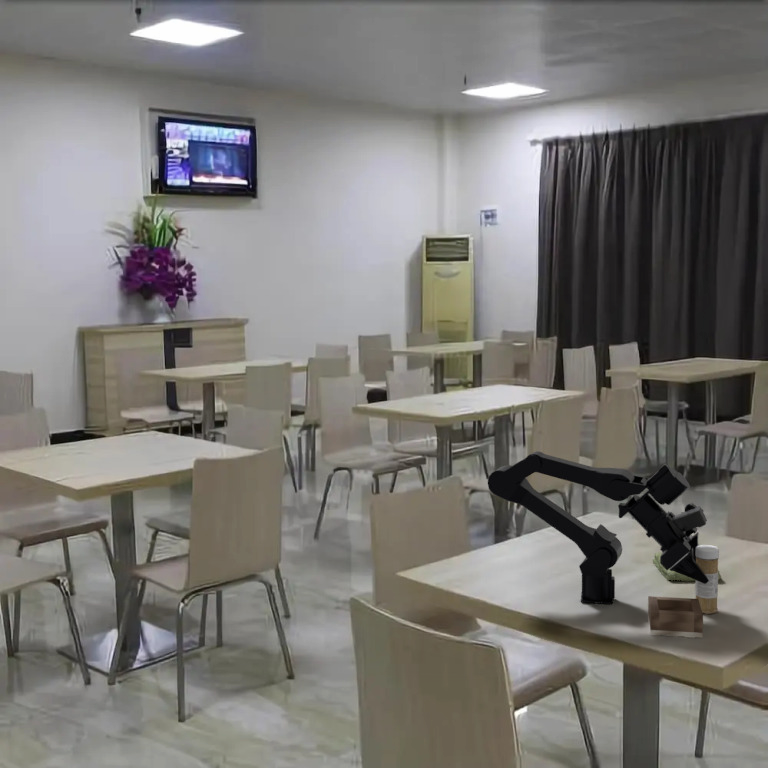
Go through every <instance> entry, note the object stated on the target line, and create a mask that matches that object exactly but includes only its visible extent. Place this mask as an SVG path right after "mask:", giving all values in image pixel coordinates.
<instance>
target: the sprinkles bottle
mask: <svg viewBox="0 0 768 768" xmlns="http://www.w3.org/2000/svg"><path fill="white" fill-rule="evenodd" d="M695 555H696V563H697V564H698V565H699V567H700V568H701V569H702V571H703V572H704V574H705V575H706V576H707V578H708V579H709V581H708V582H707V583H706V584H704V583H701V582H699V581H697V580H696V581H694V582H695V585H694V586H695V587H694V588H695V589H694V594H695V599H698V600H699V603H700V606H701V610H702V613H703V614H705V615H707V614H708V615H709V614H710V615H712V614H716V613H717V612H718V609H719V608H718V593H719V592H718V591H719V590H718V589H719V581H718V570H719V558H720V549H719V548H718V546H716V545H712V544H711V545H710V544H699V546H697V547H696V551H695Z"/></svg>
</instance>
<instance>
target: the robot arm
mask: <svg viewBox="0 0 768 768" xmlns="http://www.w3.org/2000/svg"><path fill="white" fill-rule="evenodd" d="M534 473H537V474H538V473H539V474H542V475H546V476H549V477H551V478H552V477H553V478H557V479H560V480H564V481H566V482H567V481H568V482H570V483H575V484H578V485H582V486H585V487H588V488H589V489H591V490H594V491H595V492H596V493H598V494H600V495H601V496H604V497H606V498H608V499H610V500H612V501H615V502H619V504H618V505H617V507H618V518H619V519H622V518H623V517H624V516H626V515H628V514H629V515H630V516H631V517H632V518H633V519H634V520H635V521H636V522H637V523H638V524H639V525H640V526H641V527H642V528H643V529H644V531H646V532H645V535H646V536H647V537H648V538H649V539H650V538H652V539H653V540H654V541H655V542H656V543H657V544H658V545H659V546H660V549H659V550H660V551H661V553H662V554H661V557H660V564H661V565H662V566H663V567H664V568H665V569H666V570H668V569H669V568H670V569H669V570H670V571H675V572H677V573H680V574H682V575H685V576H687V577H690V578H692V579H694V580H697V581H699V582H701V583H704V584H706V583H707V582H708V581H709V579H708V578H707V576H706V575H705V574H704V572H703V571H702V569H701V568H700V567H699V565H698V564H697V563H696V555H695V551H696V547H697V546H699V545H700V544H699V534H700V533H699V532H697V531H698V528H702V527H703V526H705V525H706V524H707V522H708V520H707V517H706V515H705V513H704V509H703V508H702V507H701V506H700V505H698V506H697V505H696V504H694V503H693V502H690V503H688V504H685V506H684V511H682V512H681V513H679V514H676V515H675V514H674V513H673V512H672V511H666V510H665V509H663V507H662V506H661V505H665V504H666V505H668V506H670V505H672V503H674V502H675V501H676V500H677V499H678V498H679V497H680V496H681V495H683V494H684V493H686V491H687V490H689V489H690V487H691V485H690V483H689V481H688V480H687V479H686V478H685V477H684V475H683V474H682V473H681V472H678V471H677V470H676V469H675V468H673V467H671V466H670V465H668V463H664V464H662V466H661V467H660V468H659V469H658V471H656V472H655V474H653V475H652V476H651V477H646V476H642V475H641V476H640V475H636V474H635V475H634V473H632V472H631V471H630V470H628V469H625V468H619V467H618V468H616V467H594V466H590V465H586V464H583V463H579V462H576V461H573V460H568V459H565V458H561V457H557V456H553V455H549V454H546V453H544V452H542V451H537V450H536V451H534V452H533V451H532V452H531V453H530V454H528V455H527V456H526V457H525V458H523V459H521V460H520V461H518V462H517V463H514V464H513V465H510V464H509V465H508V464H507V465H502V466H500V467H499V468H497V469H495V470H494V471H493V472H491V473H490V475H489V476H488V478H487V486H488V490H489V492H491V493H492V494H493V495H494V496H496V497H499V498H500V499H503V500H504V501H507V502H510V503H514V504H517V505H520V506H522V507H523V508H525V509H526V510H528V512H531V513H532V514H533V515H535V516H536V517H537V518H539V519H540V520H542V521H544V522H545V523H546V524H548V525H549V526H550V527H552V528H553V529H555V530H556V531H558V532H559V533H561V534H562V535H563V536H565V537H566V538H568V539H569V540H570V541H572V542H573V543H574V544H575V545H577V547H578V548H579V550H580V552H581V553H582V554H583V555H584V559H583V560H582V562H581V563H580V564H579V570H580V573H581V593H580V594H581V595H580V597H581V598H580V602H581V603H586V604H587V603H588V604H590V603H591V604H606V605H607V604H608V605H609V604H611V605H613V600H614V599H615V598H616V596H615V594H616V591H615V588H616V587H615V586H616V583H615V582H616V578H615V576H613V570H612V567H614V566H615V565H616V563H617V562H618V561H619V559H620V558H621V555H622V554H623V546H622V542H621V541H620V540H619V539H618V537H617V533H614V532H612V531H610V530H609V529H607V527H605V526H604V525H603V524H601V523H600V524H599V525H598V526H597V527H596V528H594V527H591V526H588V525H587V524H585V523H583V522H582V521H580V520H579V519H578V518H577V517H575V516H574V515H572V514H570V512H568V511H566V510H565V509H563V507H561V506H559V505H558V504H556V503H555V502H554V501H553V500H550V499H549V498H548V497H546V496H545V495H544V494H542V493H541V492H539V491H537V490H536V489H535V488H533V486H532V485H531V483H530V482H529V480H528V479H527V478H528V477H530V476H531V475H533V474H534ZM646 489H647V490H646ZM645 490H646V491H645ZM644 491H645V492H644ZM642 492H643V493H642ZM640 494H641V495H640ZM630 496H632V497H631V498H630V499H629V500H627V499H628V498H629V497H630ZM625 500H627V501H626V502H624V503H623V501H625ZM693 534H694V535H693Z"/></svg>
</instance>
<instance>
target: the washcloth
mask: <svg viewBox="0 0 768 768" xmlns="http://www.w3.org/2000/svg"><path fill="white" fill-rule="evenodd" d="M661 554H662V551H661V552H660V551H659V552H656V553H654V556H653V557H654V558H653V559H652V564H655V567H656V568H657V570H658V571H659V572H660V573H661V575H662V576H663V577H664V578H665V579H666V580H667V581H669V580H671V581H670V582H678V580H679V582H690V581H691V582H695V581H696V580H694V579H692V578H690V577H687V576H685V575H682V574H680V573H677V572H675V571H670V570H669V569H670V568H669V569H668V570H666V569H665V568H664V567H663V566H662V565H661V564H660V557H661ZM721 579H722V575H721V573H720V570H719V569H718V582H719V581H720V580H721ZM673 580H674V581H673ZM675 580H677V581H675ZM680 580H681V581H680Z"/></svg>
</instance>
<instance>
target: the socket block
mask: <svg viewBox="0 0 768 768" xmlns="http://www.w3.org/2000/svg"><path fill="white" fill-rule="evenodd" d="M647 600H648V603H647V605H648V606H647V607H648V608H647V614H648V615H647V620H648V626H649V627H648V628H649V633H650V636H660V635H669V636H668V637H678V636H685V637H684V638H695V637H700V638H699V639H703V638H704V613H702V610H701V606H700V603H699V600H698V599H696V598H688V597H669V596H652V595H651V596H648V599H647Z"/></svg>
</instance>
